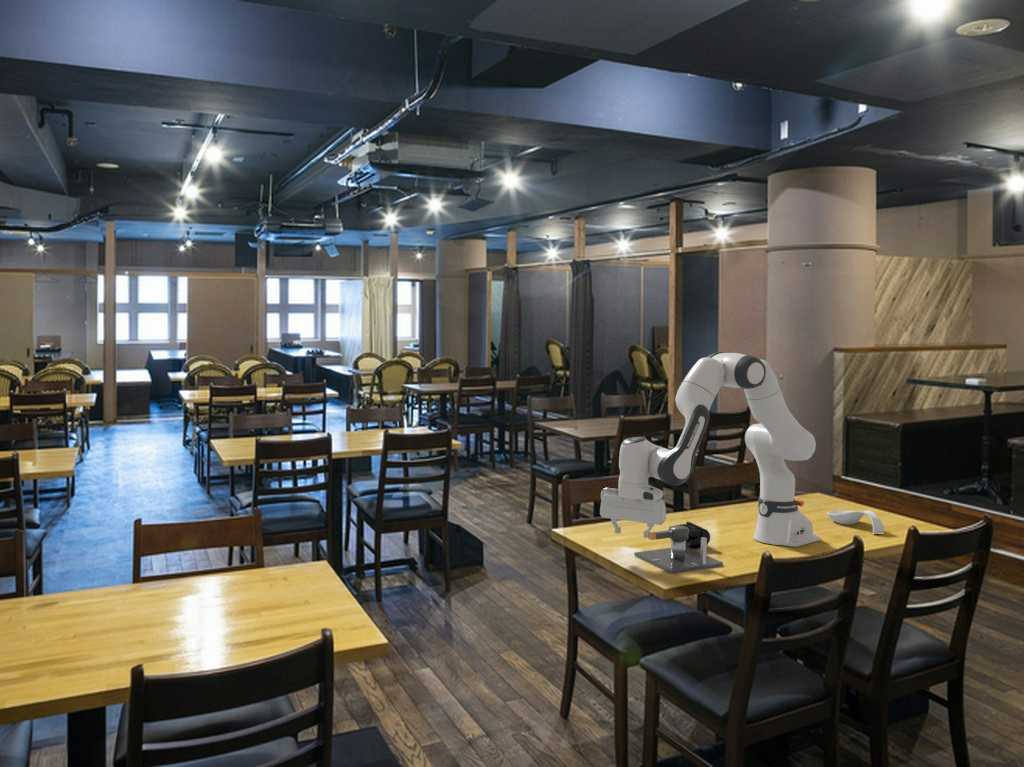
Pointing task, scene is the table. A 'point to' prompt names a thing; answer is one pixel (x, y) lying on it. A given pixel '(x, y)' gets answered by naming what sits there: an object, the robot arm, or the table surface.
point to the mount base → (676, 563)
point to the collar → (671, 533)
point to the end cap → (695, 535)
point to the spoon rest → (856, 518)
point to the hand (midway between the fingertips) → (632, 535)
